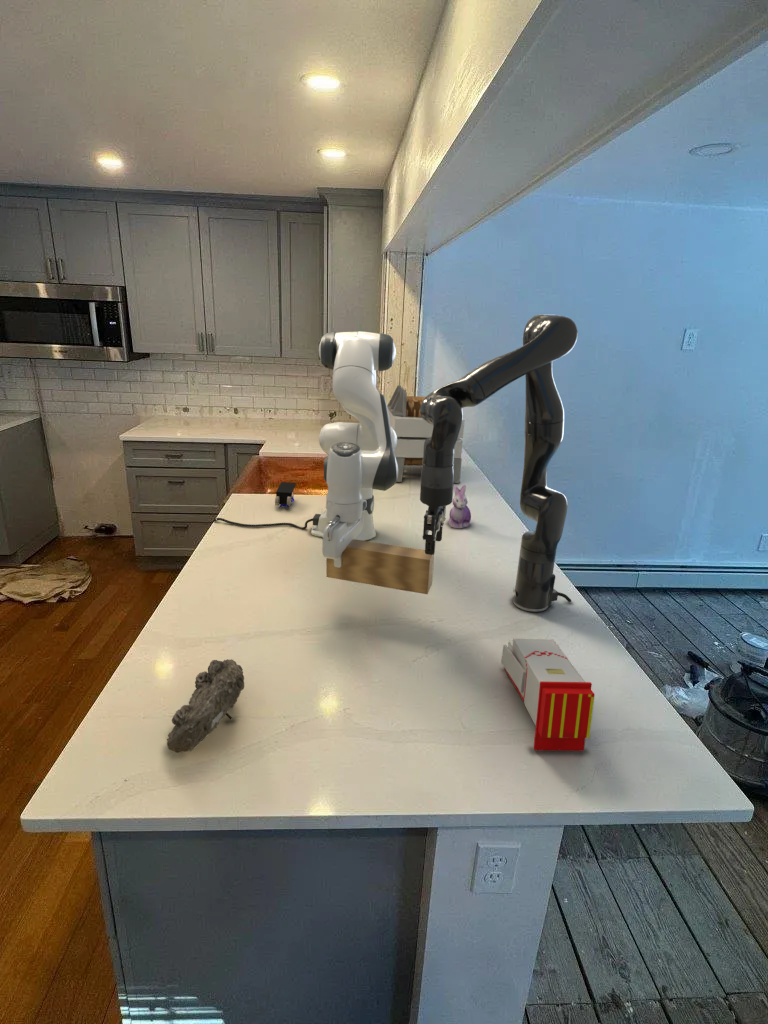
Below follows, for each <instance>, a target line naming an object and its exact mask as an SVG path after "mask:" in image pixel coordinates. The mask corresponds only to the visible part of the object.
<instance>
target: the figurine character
mask: <svg viewBox="0 0 768 1024" xmlns="http://www.w3.org/2000/svg"><path fill="white" fill-rule="evenodd" d="M296 485H297V483H296V482H286V481H285V482H284V481H280V483H279V486H278V487H277V490H276V491H275V497H274V498H275V499H274V506H278V509H279V510H282V507H285V508H286V510H288V509H289V507H290V506H292V503H294V502H295V499H294V497H295V493H294V490H295V487H296Z"/></svg>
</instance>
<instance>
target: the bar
mask: <svg viewBox="0 0 768 1024" xmlns="http://www.w3.org/2000/svg"><path fill="white" fill-rule="evenodd" d="M341 559H343V564H342V566H341V567H340V568H338V567H335V566H334V559H329V558H326V578H329V579H335V580H341V581H347V582H351V583H358V584H364V585H369V586H370V585H371V586H376V587H380V588H381V587H382V588H388V589H393V590H399V591H405V592H412V593H417V594H422V595H428V594H429V593H430V590H431V588H432V586H433V576H434V575H433V574H434V565H435V564H434V563H435V562H434V561H435V554H434V555H429V554H425V549H420V548H414V547H407V546H401V545H394V544H388V543H381V542H376V541H375V542H374V541H368V540H365V541H362V540H355V539H353V540H352V542H351V543H350V544H349V545H348V546H347V547H346V549H345V550H344V551H343V552H342V555H341Z"/></svg>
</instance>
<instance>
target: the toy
mask: <svg viewBox="0 0 768 1024" xmlns="http://www.w3.org/2000/svg"><path fill="white" fill-rule="evenodd" d="M500 661H501V662H500V663H501V664H502V666H503V668H504V671H505V673H506V674H507V676H508V678H509V679H510V681H511V684H512V685H513V686H514V688H515V691H517V693H518V695H519V696H520V699H521V700H522V702H523V704H524V706H525V708H526V711H527V712H528V714H529V716H530V718H531V720H532V723H533V724H534V726H535V731H534V741H533V750H534V751H554V752H555V751H556V752H557V751H558V752H564V751H565V752H584V751H585V743H586V739H590V737H591V736H590V735H591V727H592V718H593V710H594V702H595V692H593V690H592V685H593V684H592V682H590V681H585V679H584V678H583V676H582V675H581V674H580V673H579V672H578V670H577V669H576V668H575V666H574V665H573V663H572V662H571V661H570V659H569V658H568V657H567V655H566V654H565V653H564V651H563V650H562V649H561V648H560V646H559V644H558V643H557V642H556V640H554V638H517V637H515V638H512V639H508V643H507V644H503V647H502V653H501V660H500Z"/></svg>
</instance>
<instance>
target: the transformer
mask: <svg viewBox="0 0 768 1024" xmlns="http://www.w3.org/2000/svg"><path fill="white" fill-rule="evenodd" d="M407 394H408V393H407V390H406V389H404V388H403V387H402V385H399V384H398V385H397V386H396V388H395V390H394V392H393V394H392V395H391V398H390V400H389V402H388V404H387V408H388V414H389V420H390V426H391V427H392V428H393V429H394V431H395V433H396V435H397V446H396V448H395V450H394V454H395V457H396V460H397V464H398V478H397V481H396V483H402V482H403V475H404V469H405V466H406V467H407V466H411V467H412V466H413V467H415V466H416V467H417V466H418V467H422V465H423V449H424V442H425V440H426V439H427V438H429V437H431V436H432V431H433V425H432V424H429V423H427V422H426V421H425V420H424V419H423V418H422V417H421V414H420V406H421V403H422V401H423V400H424V399H425V397H426V396H415V395H414V396H413V395H412V396H411V395H407ZM464 429H465V419H464V418H463V420H462V425H461V429H460V432H459V435H458V439H457V441H456V444H455V448H454V484H455V483H456V484H459V483H461V472H462V461H463V460H462V453H463V442H464V441H463V440H462V439H463V438H464V431H465V430H464Z"/></svg>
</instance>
